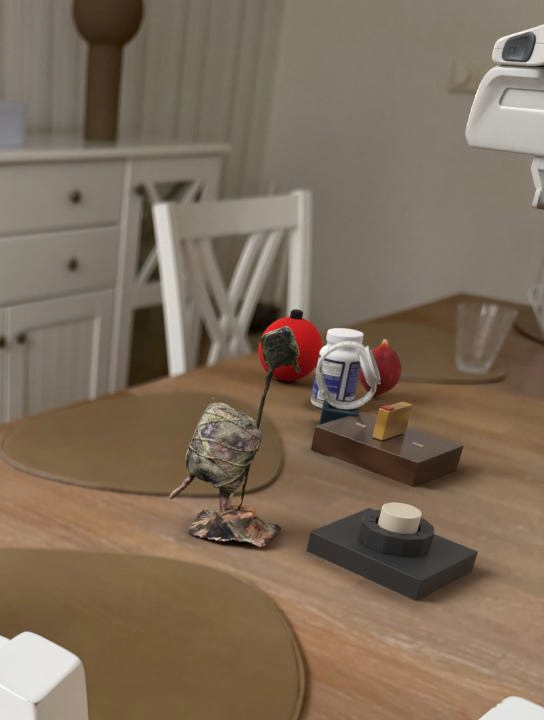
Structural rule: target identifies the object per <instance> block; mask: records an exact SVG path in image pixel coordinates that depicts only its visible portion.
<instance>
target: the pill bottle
mask: <svg viewBox="0 0 544 720" xmlns="http://www.w3.org/2000/svg"><path fill="white" fill-rule="evenodd" d="M364 336H365V335H364V333H363V332H362V331H359V330H356V329H352V328H346V327H345V328H344V327H334V328H329V329H328V330H327V333H326V336H325V337H326V339H325V341H326V345H323V346H322V349H321V350H320V353H319V358H318V362H319V359H320V358H321V356H322V354H323V353H324V352H325V351H326V350H327V349H328V348H329V347H331V346H332V345H334V344H336V343H338V342H341V341H353V342H354V341H356V342H360V343H362V344H363V341H364ZM357 350H358V349H354V348H353V347H352V348H346V347H345V348H341V349H338V350H336V351H334V352H331V353H330V354H329V355H328V356H326V358H325V359H324V360H323V362H322V363H323V365H322V370H323V377H324V381H325V384H326V386H327V389H328V390H329V392H330V396H331V397H332V398H334V399H340V400H347V401H355V397H356V393H357V387H358V383H359V373H360V369H361V365H360V361H359V357H358V352H357ZM317 367H318V363H317V366H316V368H317ZM313 381H314V382H313V385H312V391H311V396H310V402H311V404H312V406H314V407H316V408H318V409H320V410H322V407H323V402H324V400H323V398H322V396H321V393H320V391H319V388H318V385H317V379H316V373H315V374H314V379H313Z"/></svg>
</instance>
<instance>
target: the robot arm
mask: <svg viewBox="0 0 544 720" xmlns="http://www.w3.org/2000/svg"><path fill="white" fill-rule="evenodd" d="M491 61H493V63H495V64H497V65H495V66H493V67H491V69H489V70H487V72H486V73H485V74H484V75H483V78H482V79H481V81H480V83H479V85H478V88H477V91H476V93H475V97H474V100H473V102H472V106H471V108H470V111H469V115H468V119H467V122H466V123H467V124H466V126H465V132H464V133H465V134H464V135H465V139H466V142H467V146H468V147H469V148H474V149H481V150H488V151H489V150H490V151H495V152H496V151H497V152H503V153H511V154H512V153H513V154H519V155H527V156H533V158H532V163H531V165H530V172H531V175H532V180H533V184H534V189H535V192H534V196H533V199H532V202H531V208H532V209H536V210H542V211H544V23H543V24H541V25H540V24H539V25H537V26H534V27H531V28H527V29H524V30H522V31H518V32H514V33H511V34H508V35H505V36H502V37H499V38H498V39H497V40H496V41H495V43H494V46H493V49H492V54H491Z"/></svg>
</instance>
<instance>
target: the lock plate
mask: <svg viewBox="0 0 544 720" xmlns="http://www.w3.org/2000/svg"><path fill="white" fill-rule="evenodd" d="M376 419H377V415H373V414H371V413H367V412H366V411H365V412H364V411H360V412H358V416H351V415H350V416H347V417H344V418H340V419H337V420H334V421H330V422H327V423H324V424H320V425H319V424H317V425H315V427H314V431H313V432H314V433H313V436H312V440H311V441H312V442H311V446H310V450H312V451H314V452H316V453H320V454H322V455H324V456H327V457H329V458H331V457H332V458H334V459H336V460H340V461H342V462H345V463H348V464H350V465H353V466H355V467H358V468H361V469H363V470H366V471H369V472H372V473H375V474H377V475H379V476H382V477H385V478H387V479H390V480H393V481H395V482H398V483H400V484H404V485H406V486H409V487H411V488H413V487H415V486H419V485H421V484H424V483H426V482H429V481H432V480H434V479H437V478H439V477H442V476H444V475H447V474H449V473H451V472H454V471H456V470H458V467H459V463H460V459H461V457H462V453H463V449H464V445H463V444H460V443H458V442H454V441H451V440H448V439H445V438H442V437H439V436H437V435H433V434H430V433H427V432H426V431H425V432H424V431H421V430H419V429H415V428H412V427H409V426H407V428H406V432H405V433H403V434H400V435H397V436H394V437H391V438H388V439H385V440H379V439H377V438H374V437H372V436H373V432H374V428H375V424H376Z"/></svg>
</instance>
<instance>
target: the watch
mask: <svg viewBox="0 0 544 720" xmlns="http://www.w3.org/2000/svg"><path fill="white" fill-rule="evenodd" d="M345 347H346V348H352V347H353V348H354V349H358V350H357V352H358V357H359V361H360V365H361V368H362V371H363V374H364V377H365V379H366V382H367V384H368V385H369V386H371V389H370V392H367V393H366V394H365V395H364V396H362V397H361V398H360V397H359V398H358V399H356V400H354V401H347V400H340V399H334V398H332V397H331V396H330V392H329V390H328V389H327V386H326V384H325V381H324V377H323V370H322V365H323V363H322V362H323V360H324V359H325V358H326V356H328V355H329V354H330V353H331V352H334V351H336V350H338V349H341V348H345ZM371 350H372V349H371V347H370V346H369V345H367V346H365V345H364V344H363V342H362V343H360V342H356V341H354V342H353V341H341V342H338V343H336V344H334V345H332V346H331V347H329V348H328V349H327V350H326V351H325V352H324V353H323V354H322V356H321V358H320V359H319V362H318V367H317V366H316V367H315V374H316V379H317V385H318V388H319V391H320V393H321V396H322V398H323V400H324V402H323V407H322V409H321V412H320V417H319V421H318V423H319V424H318V425H320V424H324V423H327V422H330V421H334V420H337V419H340V418H344V417H347V416H350V415H351V416H358V413H359V408H360V407H362V406H364V405H365V404H367V403H368V402H369V401H370V400H371V399H372V398H373V397H372V396H373V395H374V394H375V392H376V385H377V384H378V385H379V384H381V381H380V375H379V371H378V368H377V365H376V361H375V359H374V356H373V353H372V351H371Z"/></svg>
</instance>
